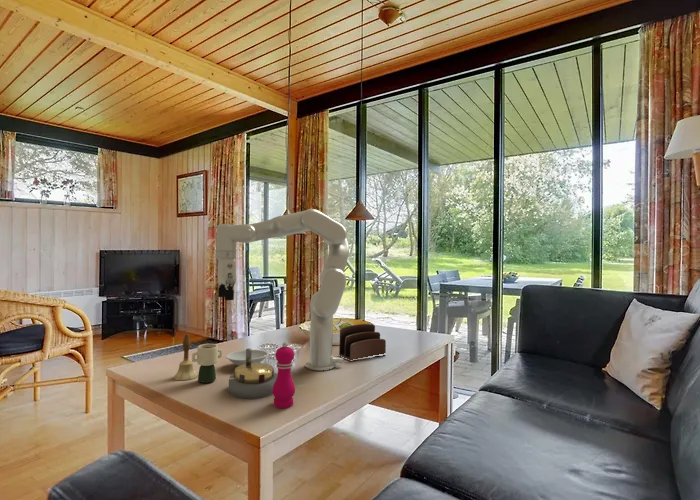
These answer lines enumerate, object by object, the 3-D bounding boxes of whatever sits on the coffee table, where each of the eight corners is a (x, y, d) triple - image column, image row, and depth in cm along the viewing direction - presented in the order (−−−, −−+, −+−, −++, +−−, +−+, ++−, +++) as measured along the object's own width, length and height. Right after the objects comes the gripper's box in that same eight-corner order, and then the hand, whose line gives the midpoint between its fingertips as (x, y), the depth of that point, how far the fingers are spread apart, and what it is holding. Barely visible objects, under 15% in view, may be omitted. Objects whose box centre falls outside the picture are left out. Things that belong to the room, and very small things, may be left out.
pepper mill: (267, 406, 123) (269, 343, 123) (279, 398, 130) (281, 338, 129) (287, 410, 120) (289, 346, 120) (298, 402, 127) (300, 340, 127)
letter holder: (338, 356, 180) (339, 325, 180) (373, 351, 191) (374, 322, 191) (350, 362, 172) (351, 330, 172) (385, 356, 183) (386, 326, 182)
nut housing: (280, 380, 146) (280, 369, 146) (276, 398, 130) (276, 385, 129) (233, 380, 145) (234, 369, 145) (223, 398, 128) (223, 386, 128)
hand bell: (173, 374, 149) (174, 332, 149) (197, 372, 153) (198, 331, 152) (173, 381, 142) (174, 338, 142) (197, 379, 145) (198, 336, 145)
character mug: (218, 375, 149) (219, 341, 149) (225, 381, 144) (225, 346, 144) (188, 381, 143) (189, 345, 142) (194, 387, 137) (195, 350, 137)
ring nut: (279, 379, 135) (280, 355, 135) (243, 386, 128) (243, 360, 128) (263, 368, 146) (264, 346, 146) (229, 374, 138) (230, 351, 138)
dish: (230, 375, 151) (230, 362, 151) (221, 364, 163) (221, 352, 163) (274, 368, 160) (274, 356, 160) (262, 359, 172) (262, 347, 172)
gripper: (242, 256, 150) (242, 300, 150) (229, 254, 164) (228, 295, 164) (222, 256, 146) (222, 302, 146) (211, 254, 160) (210, 296, 160)
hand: (225, 298), depth 155 cm, fingers open, 9 cm apart
